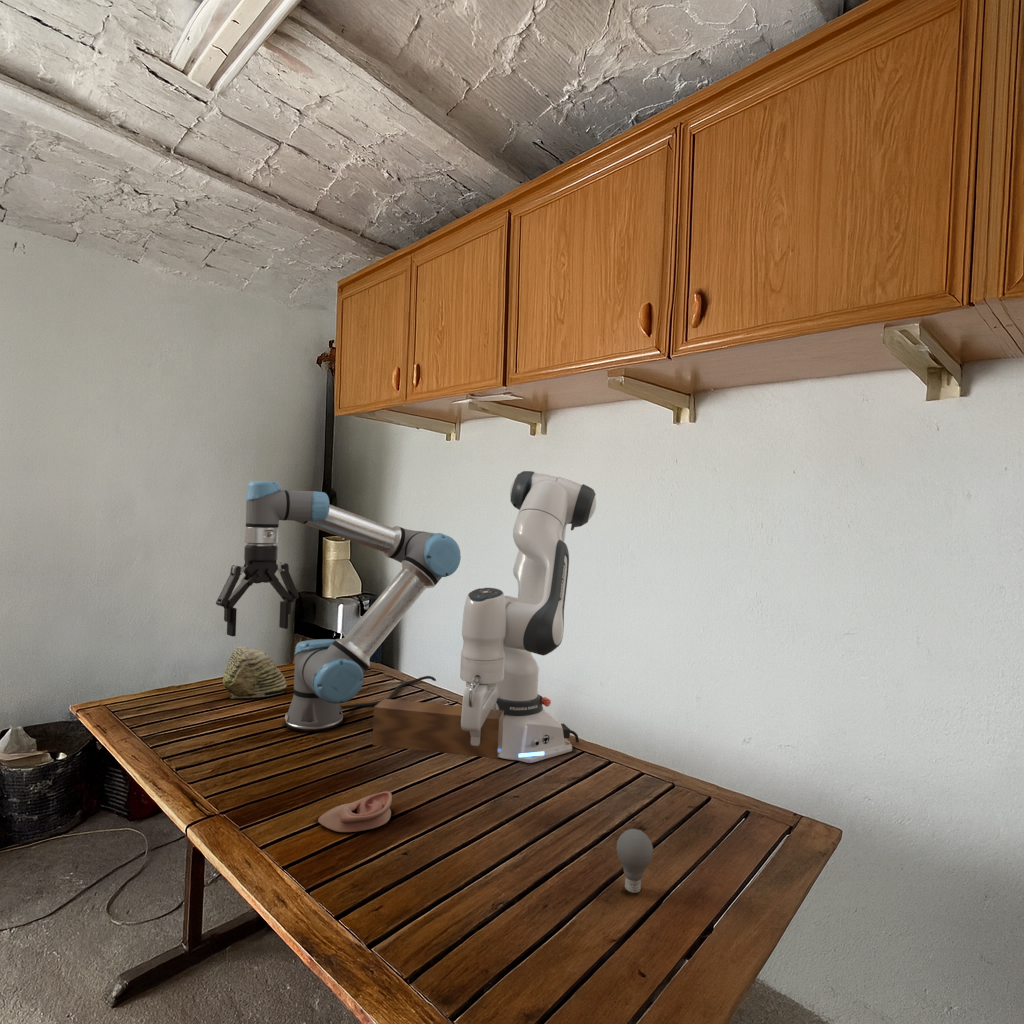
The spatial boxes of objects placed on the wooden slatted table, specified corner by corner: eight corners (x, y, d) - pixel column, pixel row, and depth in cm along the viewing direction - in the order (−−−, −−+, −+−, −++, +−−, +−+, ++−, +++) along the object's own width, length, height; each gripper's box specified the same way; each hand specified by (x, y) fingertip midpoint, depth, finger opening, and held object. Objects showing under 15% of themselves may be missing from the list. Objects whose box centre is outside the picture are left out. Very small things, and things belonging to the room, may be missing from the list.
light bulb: (610, 879, 108) (613, 822, 108) (644, 879, 109) (647, 822, 109) (619, 902, 102) (622, 840, 102) (655, 901, 103) (658, 840, 103)
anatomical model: (310, 807, 121) (339, 781, 132) (309, 827, 121) (338, 800, 132) (375, 817, 118) (398, 790, 129) (374, 838, 118) (398, 809, 129)
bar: (372, 745, 129) (373, 706, 128) (382, 735, 134) (383, 698, 134) (497, 758, 125) (499, 719, 124) (502, 748, 130) (503, 710, 130)
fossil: (218, 695, 195) (220, 647, 195) (278, 685, 208) (279, 640, 207) (228, 703, 189) (230, 653, 188) (289, 692, 201) (290, 645, 201)
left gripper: (218, 547, 142) (215, 641, 142) (315, 544, 161) (311, 627, 162) (202, 544, 146) (199, 636, 147) (298, 542, 166) (295, 622, 166)
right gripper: (487, 685, 117) (484, 760, 117) (505, 658, 137) (503, 722, 137) (454, 682, 118) (451, 756, 118) (477, 656, 138) (474, 719, 138)
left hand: (258, 631), depth 154 cm, fingers open, 13 cm apart
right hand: (479, 737), depth 128 cm, fingers closed on bar, 5 cm apart
